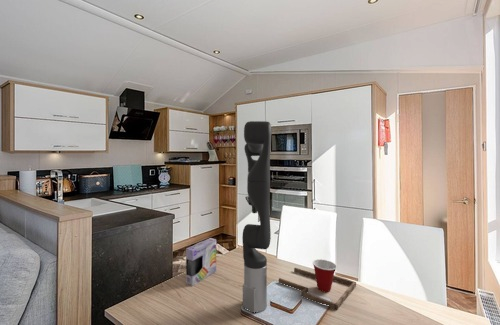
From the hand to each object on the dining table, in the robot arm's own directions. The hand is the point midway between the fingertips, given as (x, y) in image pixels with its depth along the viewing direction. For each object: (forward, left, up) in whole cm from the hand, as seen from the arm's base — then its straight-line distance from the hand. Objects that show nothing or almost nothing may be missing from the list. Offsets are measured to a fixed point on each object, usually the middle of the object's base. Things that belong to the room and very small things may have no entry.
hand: (254, 213), depth 137 cm
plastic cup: (+5, -36, -31) cm, 48 cm away
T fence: (+5, -32, -31) cm, 45 cm away
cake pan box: (-23, +16, -31) cm, 42 cm away
